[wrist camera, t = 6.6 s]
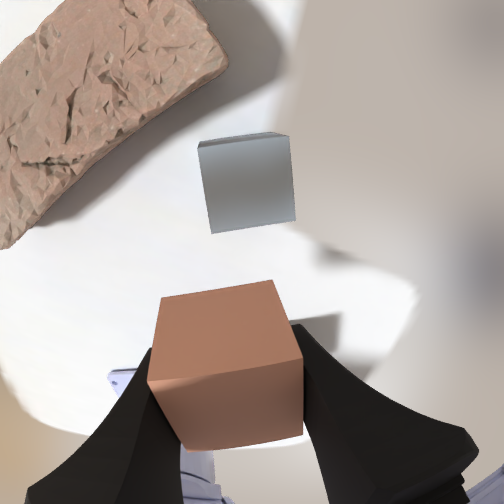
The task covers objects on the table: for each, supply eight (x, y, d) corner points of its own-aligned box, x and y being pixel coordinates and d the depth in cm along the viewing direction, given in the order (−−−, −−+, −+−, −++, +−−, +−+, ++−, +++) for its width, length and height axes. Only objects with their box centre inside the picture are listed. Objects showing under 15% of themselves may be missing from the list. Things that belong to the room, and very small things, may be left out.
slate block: (277, 198, 18) (295, 220, 15) (210, 209, 18) (211, 233, 14) (270, 132, 16) (288, 136, 13) (199, 141, 16) (197, 148, 12)
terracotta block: (279, 358, 13) (302, 434, 9) (187, 373, 12) (187, 452, 9) (272, 279, 11) (303, 357, 7) (161, 297, 11) (146, 381, 7)
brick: (28, 236, 17) (-7, 267, 12) (-29, 146, 13) (-71, 159, 9) (231, 74, 15) (240, 58, 11) (157, -24, 11) (145, -61, 7)
